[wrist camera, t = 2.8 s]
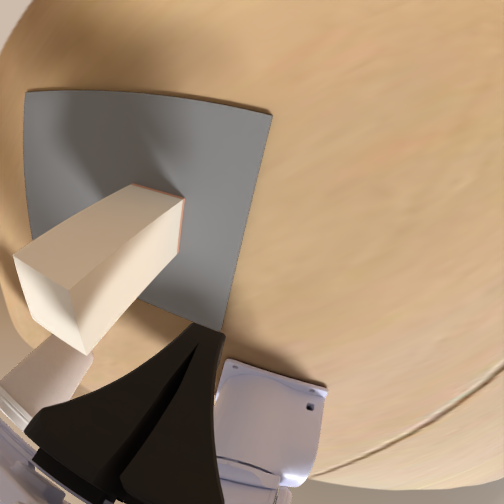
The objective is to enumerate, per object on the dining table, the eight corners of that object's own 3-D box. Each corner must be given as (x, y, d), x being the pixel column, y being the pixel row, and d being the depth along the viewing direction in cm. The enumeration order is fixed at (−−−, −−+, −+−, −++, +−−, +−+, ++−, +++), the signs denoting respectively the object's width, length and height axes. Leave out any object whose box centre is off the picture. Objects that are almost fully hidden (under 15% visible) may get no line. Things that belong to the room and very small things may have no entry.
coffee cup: (113, 378, 33) (57, 460, 21) (68, 358, 36) (16, 425, 23) (85, 326, 29) (9, 417, 16) (42, 310, 31) (-25, 380, 18)
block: (185, 198, 17) (68, 290, 9) (178, 252, 19) (86, 356, 11) (132, 183, 18) (12, 254, 9) (131, 234, 20) (32, 319, 11)
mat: (272, 115, 14) (271, 115, 14) (221, 328, 22) (219, 332, 22) (28, 91, 16) (25, 92, 16) (36, 244, 25) (33, 245, 24)
